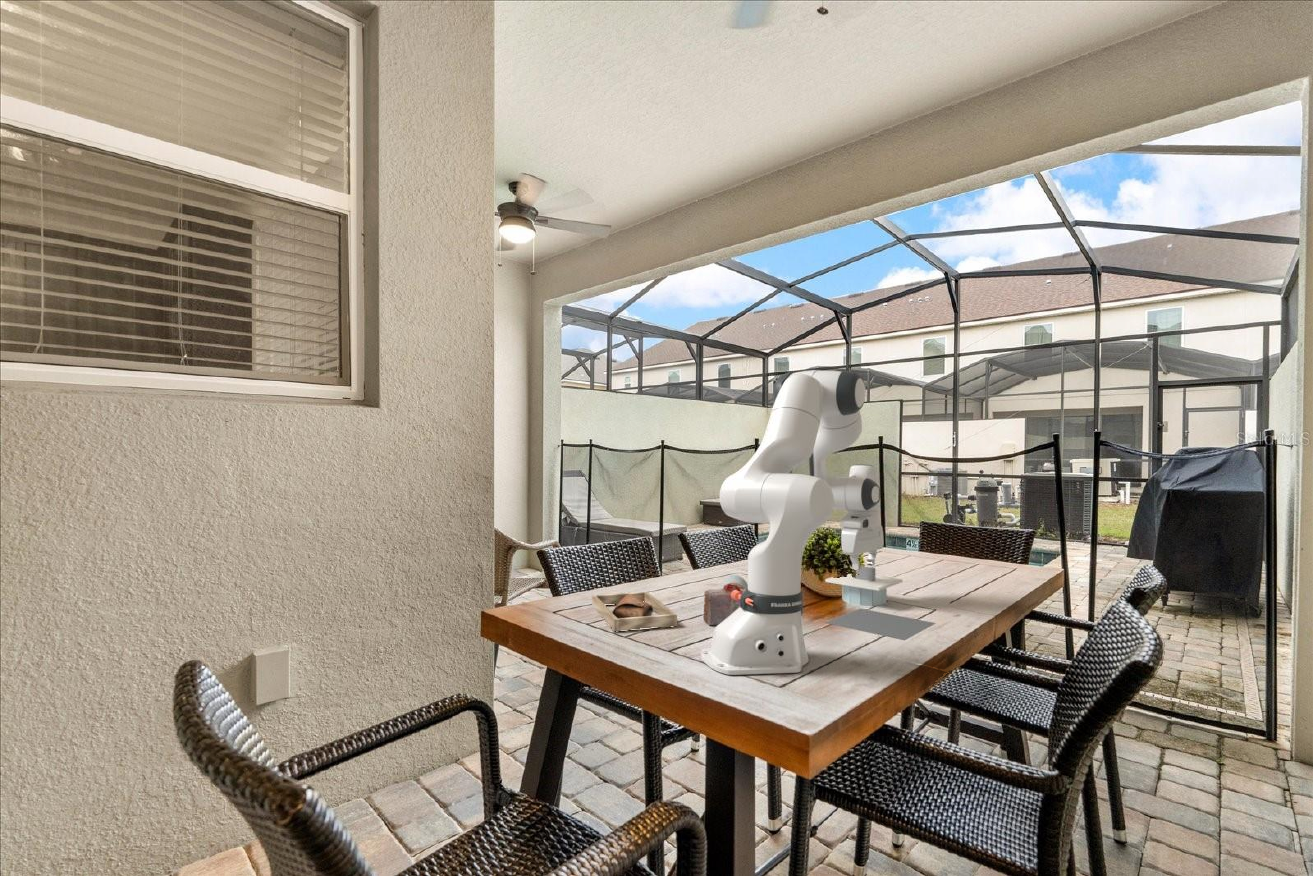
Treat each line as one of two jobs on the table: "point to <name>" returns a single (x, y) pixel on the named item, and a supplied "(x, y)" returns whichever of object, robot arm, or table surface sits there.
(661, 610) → the case frame
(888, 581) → the cream board with block
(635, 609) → the sunglasses case
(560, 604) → the table surface
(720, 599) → the food item
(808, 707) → the table surface
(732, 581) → the ceramic mug
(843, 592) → the bowl
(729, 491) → the robot arm
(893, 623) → the mat
